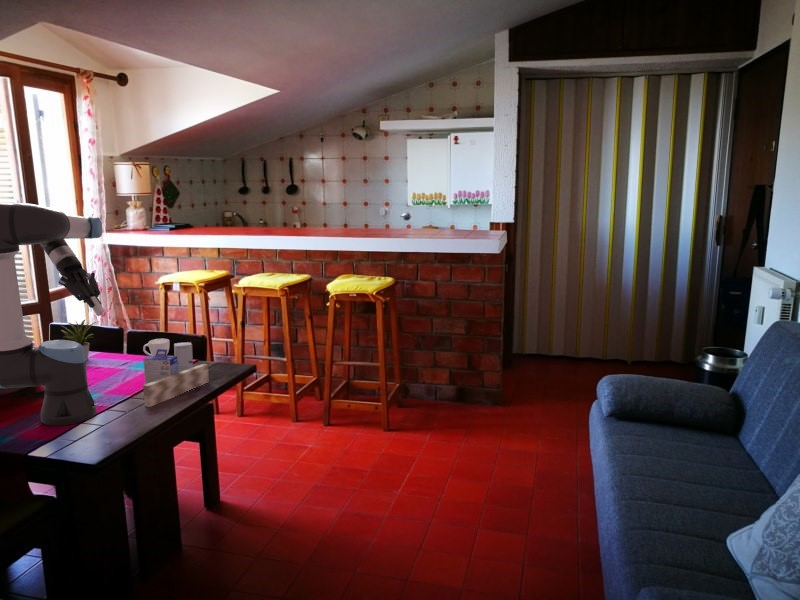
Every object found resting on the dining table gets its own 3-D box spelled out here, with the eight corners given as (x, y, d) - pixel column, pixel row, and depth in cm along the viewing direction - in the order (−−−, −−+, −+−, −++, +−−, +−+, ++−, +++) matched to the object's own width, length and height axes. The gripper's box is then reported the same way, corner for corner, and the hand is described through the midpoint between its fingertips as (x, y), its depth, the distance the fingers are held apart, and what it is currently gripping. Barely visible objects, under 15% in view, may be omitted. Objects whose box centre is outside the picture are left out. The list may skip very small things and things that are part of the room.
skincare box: (176, 378, 222) (174, 346, 220) (175, 374, 226) (173, 343, 224) (194, 376, 225) (192, 344, 222) (192, 372, 229) (190, 341, 226)
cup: (170, 358, 246) (169, 342, 244) (143, 361, 242) (142, 344, 241) (170, 353, 253) (169, 337, 251) (144, 356, 249) (142, 340, 248)
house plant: (98, 351, 254) (94, 313, 251) (107, 359, 244) (104, 319, 241) (60, 357, 245) (56, 318, 242) (68, 366, 235) (63, 325, 232)
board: (149, 407, 195) (147, 386, 193) (144, 405, 196) (143, 385, 194) (208, 383, 217) (207, 364, 216) (204, 382, 218) (203, 363, 217)
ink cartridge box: (180, 389, 211) (177, 349, 208) (172, 394, 206) (169, 353, 203) (153, 387, 212) (150, 347, 209) (145, 393, 207) (141, 352, 204)
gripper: (79, 266, 222) (113, 316, 218) (44, 271, 211) (79, 323, 207) (87, 253, 219) (122, 303, 214) (52, 257, 208) (88, 310, 203)
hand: (101, 313), depth 211 cm, fingers closed
